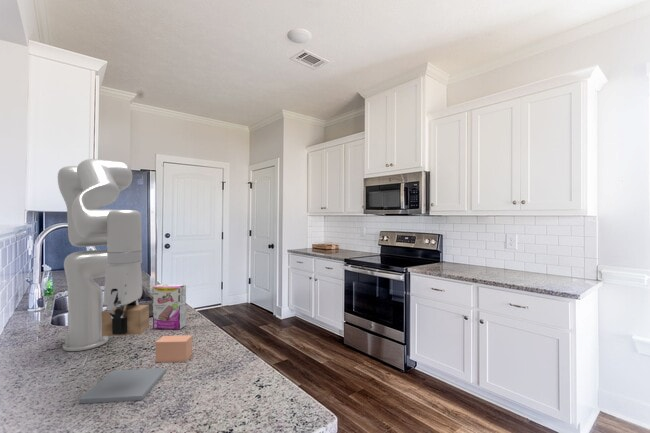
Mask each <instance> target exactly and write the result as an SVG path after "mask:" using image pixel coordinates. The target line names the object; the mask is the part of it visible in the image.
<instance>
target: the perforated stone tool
mask: <svg viewBox="0 0 650 433" xmlns="http://www.w3.org/2000/svg"><path fill="white" fill-rule="evenodd" d="M139 305H149V318H151V317H153V299H152V300H146V301H140V302H139ZM150 316H151V317H150Z"/></svg>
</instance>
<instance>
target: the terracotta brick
mask: <svg viewBox="0 0 650 433" xmlns="http://www.w3.org/2000/svg"><path fill="white" fill-rule="evenodd" d="M154 347H155V349H154V350H155V363H165V362H166V363H167V362H168V363H169V362H172V363H173V362H187V361H188V360H189V359H190V358H191V357H192V355H193V335H191V334H187V335H185V334H183V335H162V336H161V337H159V339H158V340H156V341H155V346H154Z"/></svg>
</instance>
